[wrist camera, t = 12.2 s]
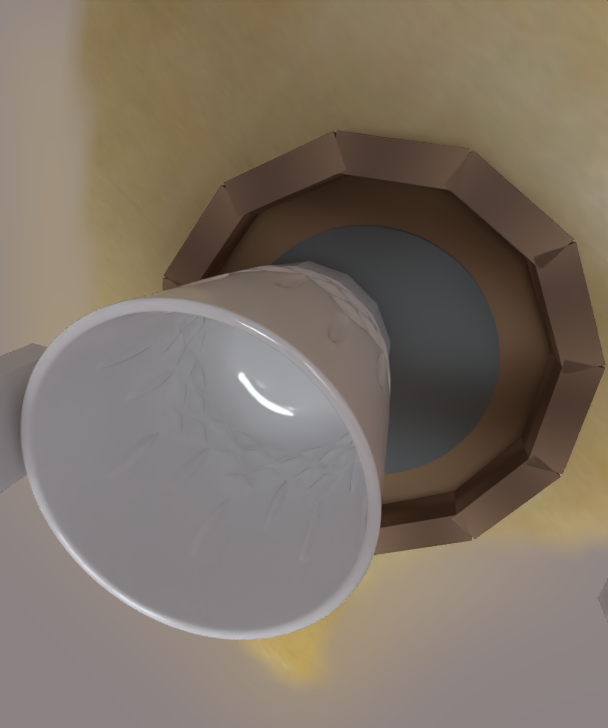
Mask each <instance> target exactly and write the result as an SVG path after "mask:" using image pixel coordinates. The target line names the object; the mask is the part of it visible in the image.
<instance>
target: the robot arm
mask: <svg viewBox="0 0 608 728" xmlns="http://www.w3.org/2000/svg"><path fill="white" fill-rule="evenodd" d="M46 349H47V347H45V346H41V345H37V344H33V343H32V344H30V345H27V346H24V347H22V348H19V349H17V350H14V351H12V352H9V353H7V354H4V355H2V356H0V493H2V492H3V491H4V490H6V489H7V488H9V487H10V486H11V485H13V484H14V483H16V482H17V481H18V480H20V479H21V478H23V477H24V476H25V475H27V473H26V469H25V465H24V460H23V455H22V448H21V434H20V424H21V411H22V405H23V400H24V395H25V391H26V388H27V385H28V382H29V379H30V377H31V374H32V372H33V370H34V368H35V366H36V364H37V362H38V361H39V359H40V357H41V356H42V354H43V353H44V351H45V350H46ZM598 599H599V602H600V604H601V606H602V609H603V611H604V614H605V617H606V619H607V622H608V579H607V581H606V583H605V585H604V587H603V589H602V591H601V593H600V595H599V597H598Z"/></svg>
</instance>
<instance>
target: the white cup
mask: <svg viewBox="0 0 608 728" xmlns="http://www.w3.org/2000/svg"><path fill="white" fill-rule="evenodd" d="M390 346H391V342H390V339H389V336H388V333H387V330H386V327H385V324H384V321H383V318H382V315H381V312H380V310H379V307H378V304H377V303H376V302H375V301H374V300H373V299H372V298H371V297H370V296H369V295H368V294H367V293H366V292H365V291H364V290H363V289H362V288H361V287H360V286H359V285H358V284H357V283H356V282H355V281H354V280H353V279H352V278H351V277H350V276H349V275H348V274H346V273H343V272H340V271H337V270H334V269H332V268H329V267H326V266H323V265H320V264H317V263H314V262H312V261H302V262H294V263H286V264H278V265H265V266H259V267H254V268H250V269H246V270H241V271H237V272H233V273H227V274H221V275H217V276H213V277H209V278H206V279H202V280H199V281H195V282H192V283H188V284H185V285H181V286H177V287H174V288H170V289H167V290H163V291H160V292H156V293H152V294H149V295H145V296H141V297H137V298H134V299H130V300H126V301H122V302H118V303H115V304H111V305H108V306H105V307H103V308H100V309H98V310H96V311H93V312H91V313H89V314H87V315H85V316H84V317H82V318H80V319H79V320H77V321H76V322H74V323H73V324H71V325H70V326H69V327H67V328H66V329H65V330H64V331H63V332H62V333H60V334H59V335H58V336H57V337H56V338H55V339H54V341H53V342H52V343H51V344H50V345H49V346H48V347H47V349H46V350H45V351H44V353H43V354H42V356H41V357H40V359H39V361H38V362H37V364H36V366H35V368H34V370H33V372H32V374H31V377H30V379H29V382H28V385H27V388H26V391H25V395H24V400H23V405H22V411H21V424H20V434H21V448H22V455H23V460H24V465H25V469H26V473H27V476H28V480H29V483H30V486H31V489H32V492H33V494H34V496H35V499H36V501H37V503H38V506H39V508H40V510H41V512H42V514H43V516H44V517H45V519H46V521H47V523H48V524H49V526H50V528H51V529H52V531H53V532H54V534H55V535H56V537H57V538H58V540H59V541H60V543H61V544H62V545H63V547H64V548H65V549H66V550H67V551H68V553H69V554H70V555H71V556H72V558H73V559H74V560H75V561H76V562H77V563H78V564H79V565H80V566H81V567H82V568H83V569H84V570H85V571H86V572H87V573H88V574H89V575H90V576H91V577H92V578H93V579H94V580H95V581H96V582H98V583H99V584H100V585H101V586H102V587H103V588H105V589H106V590H107V591H109V592H110V593H111V594H112V595H114V596H115V597H117V598H118V599H119V600H121V601H122V602H124V603H126V604H127V605H129V606H130V607H132V608H134V609H135V610H137V611H139V612H141V613H142V614H144V615H146V616H148V617H150V618H152V619H154V620H157V621H159V622H161V623H164V624H166V625H169V626H171V627H174V628H177V629H180V630H183V631H186V632H190V633H193V634H197V635H202V636H207V637H212V638H219V639H229V640H256V639H266V638H272V637H277V636H281V635H285V634H289V633H292V632H295V631H298V630H301V629H303V628H305V627H308V626H310V625H312V624H314V623H316V622H318V621H319V620H321V619H323V618H324V617H326V616H327V615H329V614H330V613H331V612H333V611H334V610H335V609H336V608H338V607H339V606H340V605H341V604H342V603H343V602H344V601H345V600H346V599H347V598H348V597H349V596H350V595H351V594H352V592H353V591H354V590H355V588H356V587H357V586H358V584H359V583H360V581H361V580H362V578H363V576H364V575H365V573H366V571H367V569H368V567H369V565H370V563H371V560H372V558H373V555H374V552H375V549H376V545H377V541H378V536H379V531H380V524H381V511H382V499H383V486H384V474H385V462H386V451H387V440H388V430H389V420H390V384H391V374H390V365H389V353H390Z"/></svg>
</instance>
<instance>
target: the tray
mask: <svg viewBox="0 0 608 728" xmlns="http://www.w3.org/2000/svg"><path fill="white" fill-rule="evenodd" d="M468 150H469V148H462V147H455V146H447V145H440V144H432V143H425V142H418V141H410V140H403V139H395V138H388V137H381V136H373V135H366V134H358V133H351V132H343V131H337V133H335V132H334V131H332V132H330V133H328V134H326V135H324V136H322V137H320V138H318V139H315V140H313V141H311V142H309V143H307V144H305V145H303V146H301V147H298V148H296V149H294V150H292V151H290V152H288V153H286V154H284V155H281V156H279V157H277V158H275V159H273V160H271V161H269V162H267V163H265V164H262V165H260V166H258V167H256V168H254V169H252V170H250V171H248V172H245V173H243V174H241V175H239V176H237V177H235V178H233V179H231V180H228V181H226V182H224V184H225V185H221V186H220V188H219V189H218V191H217V192H216V194H215V196H214V197H213V199H212V200H211V202H210V203H209V205H208V207H207V208H206V210H205V211H204V213H203V214H202V216H201V218H200V219H199V221H198V222H197V224H196V225H195V227H194V229H193V230H192V232H191V233H190V235H189V237H188V238H187V240H186V241H185V243H184V244H183V246H182V248H181V249H180V251H179V252H178V254H177V255H176V257H175V259H174V260H173V262H172V263H171V265H170V266H169V268H168V270H167V271H166V273H165V274H164V276H165V278H163V290H167V289H170V288H174V287H177V286H181V285H185V284H188V283H192V282H195V281H199V280H202V279H206V278H209V277H213V276H217V275H221V274H227V273H233V272H237V271H241V270H246V269H250V268H254V267H259V266H265V265H278V264H286V263H294V262H302V261H312V262H314V263H317V264H320V265H323V266H326V267H329V268H332V269H334V270H337V271H340V272H343V273H346V274H348V275H349V276H350V277H351V278H352V279H353V280H354V281H355V282H356V283H357V284H358V285H359V286H360V287H361V288H362V289H363V290H364V291H365V292H366V293H367V294H368V295H369V296H370V297H371V298H372V299H373V300H374V301H375V302H376V303H377V304H378V307H379V310H380V312H381V315H382V318H383V321H384V324H385V327H386V330H387V333H388V336H389V339H390V342H391V346H390V353H389V365H390V374H391V384H390V420H389V430H388V440H387V451H386V462H385V474H384V486H383V499H382V511H381V524H380V531H379V536H378V541H377V545H376V549H375V552H374V555H377V554H383V553H390V552H397V551H404V550H410V549H417V548H424V547H431V546H437V545H444V544H451V543H458V542H464V541H471V540H472V537H473V538H474V539H476V538H477V537H479V536H480V535H481V534H483V533H484V532H485V531H487V530H488V529H490V528H491V527H492V526H494V525H495V524H496V523H498V522H499V521H501V520H502V519H503V518H505V517H506V516H507V515H509V514H510V513H512V512H513V511H514V510H516V509H517V508H518V507H520V506H521V505H523V504H524V503H525V502H527V501H528V500H529V499H531V498H532V497H533V496H535V495H536V494H538V493H539V492H540V491H542V490H543V489H544V488H546V487H547V486H549V485H550V484H551V483H553V482H554V481H555V480H557V479H558V478H560V474H563V472H564V469H565V467H566V464H567V462H568V459H569V457H570V454H571V452H572V449H573V447H574V444H575V442H576V439H577V437H578V434H579V432H580V429H581V427H582V424H583V422H584V419H585V417H586V414H587V412H588V409H589V407H590V404H591V402H592V399H593V397H594V394H595V392H596V389H597V387H598V384H599V382H600V379H601V377H602V374H603V372H604V369H605V368H604V367H603V366H602V365H605V361H604V357H603V353H602V348H601V344H600V340H599V336H598V332H597V328H596V323H595V319H594V315H593V311H592V307H591V303H590V298H589V294H588V290H587V286H586V282H585V278H584V273H583V269H582V265H581V261H580V257H579V253H578V248H577V244H576V242H573V240H574V239H573V238H572V237H571V236H570V235H569V234H568V233H566V232H565V231H564V230H563V229H562V228H561V227H560V226H559V225H557V224H556V223H555V222H554V221H553V220H552V219H551V218H549V217H548V216H547V215H546V214H545V213H544V212H543V211H541V210H540V209H539V208H538V207H537V206H536V205H535V204H534V203H532V202H531V201H530V200H529V199H528V198H527V197H526V196H524V195H523V194H522V193H521V192H520V191H519V190H518V189H516V188H515V187H514V186H513V185H512V184H511V183H510V182H508V181H507V180H506V179H505V178H504V177H503V176H502V175H501V174H499V173H498V172H497V171H496V170H495V169H494V168H493V167H491V166H490V165H489V164H488V163H487V162H486V161H485V160H483V159H482V158H481V157H480V156H479V155H478V154H477V153H476V152H474V151H473V150H472V151H471V152H470V153H469V155H468V156H467V154H468ZM559 473H560V474H559ZM471 536H472V537H471Z"/></svg>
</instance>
